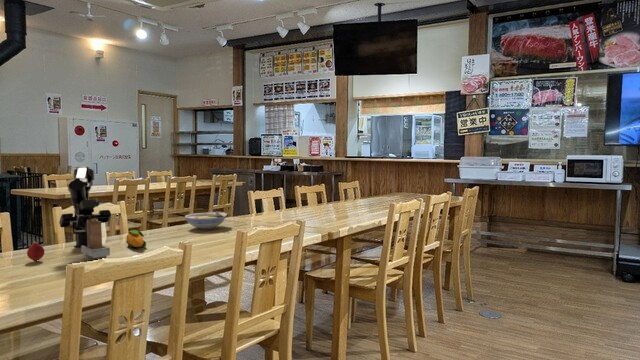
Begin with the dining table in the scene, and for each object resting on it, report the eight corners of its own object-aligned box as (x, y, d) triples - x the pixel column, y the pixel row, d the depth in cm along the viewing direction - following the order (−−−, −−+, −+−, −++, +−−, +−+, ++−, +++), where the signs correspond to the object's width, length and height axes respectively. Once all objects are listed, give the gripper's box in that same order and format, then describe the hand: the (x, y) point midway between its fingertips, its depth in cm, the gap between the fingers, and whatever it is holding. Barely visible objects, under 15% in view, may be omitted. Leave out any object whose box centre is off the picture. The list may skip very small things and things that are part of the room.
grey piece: (78, 257, 186) (78, 245, 186) (99, 254, 192) (99, 242, 192) (91, 263, 176) (90, 250, 176) (112, 259, 182) (112, 246, 182)
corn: (139, 226, 216) (149, 232, 199) (141, 242, 216) (151, 249, 200) (122, 229, 212) (131, 235, 195) (124, 245, 212) (133, 253, 196)
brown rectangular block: (87, 248, 185) (86, 218, 184) (97, 246, 187) (96, 217, 186) (92, 250, 181) (91, 220, 180) (102, 248, 184) (101, 218, 183)
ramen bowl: (184, 226, 263) (184, 211, 263) (224, 223, 270) (224, 210, 269) (185, 233, 239) (184, 218, 239) (229, 230, 246) (229, 215, 246)
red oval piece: (41, 259, 185) (40, 239, 184) (47, 261, 181) (46, 241, 180) (25, 261, 180) (24, 241, 179) (30, 264, 176) (29, 243, 176)
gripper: (60, 194, 182) (70, 224, 175) (108, 190, 195) (120, 219, 188) (55, 212, 188) (64, 242, 181) (102, 207, 201) (113, 235, 194)
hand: (91, 234), depth 186 cm, fingers closed, pressing on brown rectangular block
